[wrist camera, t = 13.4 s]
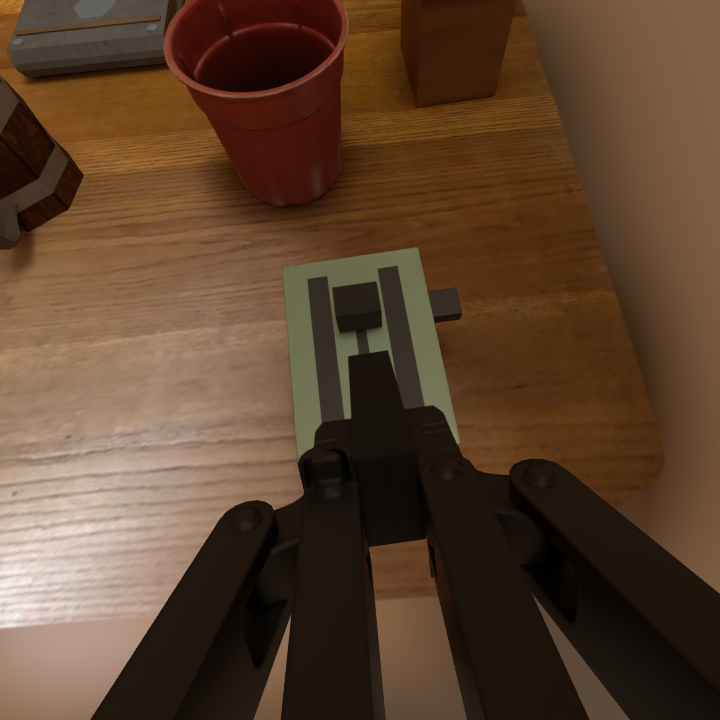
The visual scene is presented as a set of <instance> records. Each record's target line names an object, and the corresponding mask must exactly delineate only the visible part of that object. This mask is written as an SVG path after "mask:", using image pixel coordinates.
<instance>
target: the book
mask: <svg viewBox="0 0 720 720" xmlns="http://www.w3.org/2000/svg"><path fill="white" fill-rule="evenodd" d="M183 3H184V0H25V2H24V5H23V7H22V10H21V13H20V16H19V19H18V22H17V24H16V27H15V30H14V33H13V36H12V39H11V42H10V44H9V47H8V50H7V51H8V54H9V56H10V58H11V61H12V63H13V65H14V66H15V68H16V69H17V70H18V71H19V72H20V73H22V74H23V75H25V76H27V77H36V76H46V75H56V74H65V73H75V72H85V71H94V70H104V69H114V68H123V67H133V66H143V65H152V64H162V63H167V62H166V59H165V55H164V38H165V34H166V31H167V28H168V26H169V24H170V22H171V20H172V19H173V17H174V16H175V15H176V13H177V12H178V11H179V10H180V9H181V8H182V7H183Z"/></svg>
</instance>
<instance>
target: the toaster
mask: <svg viewBox="0 0 720 720" xmlns="http://www.w3.org/2000/svg"><path fill="white" fill-rule="evenodd" d="M282 269H283V281H284V294H285V307H286V320H287V333H288V345H289V358H290V371H291V384H292V397H293V410H294V422H295V435H296V448H297V461H299V459H300V457H301V456H302V455H303V454H304V453H305V452H306V451H307V450H309V449H311V448H313V447H314V438H315V432H316V430H317V429H318V428H319V426H320V425H321V424H322V423H323V422H330V421H336V420H343V419H350V418H351V404H350V386H349V368H348V356H352V355H359V354H365V353H372V352H379V351H386V350H388V352H389V356H390V359H391V363H392V366H393V370H394V373H395V377H396V380H397V384H398V388H399V391H400V395H401V398H402V402H403V405H404V409H410V408H417V407H424V406H431V405H434V406H435V407H436V408H438V409H439V410H441V411H442V412H443V413H444V415H445V417H446V420H447V423H448V424H449V427H450V429H451V431H452V433H453V436H454V438H455V440H456V442H457V445H458V447H459V445H460V444H461V442H460V438H459V433H458V429H457V424H456V419H455V415H454V410H453V406H452V401H451V396H450V392H449V387H448V383H447V378H446V374H445V369H444V364H443V360H442V355H441V351H440V346H439V341H438V337H437V332H436V328H435V323H438V322H445V321H452V320H459V319H460V318H461V314H462V310H461V306H460V302H459V298H458V294H457V290H456V288H451V289H444V290H437V291H430V292H428V291H427V287H426V282H425V277H424V273H423V268H422V264H421V259H420V254H419V250H418V247H416V248H409V249H402V250H396V251H389V252H382V253H375V254H369V255H362V256H355V257H348V258H341V259H335V260H328V261H321V262H314V263H308V264H301V265H294V266H287V267H283V268H282ZM373 281H376V282H377V286H378V292H379V298H380V304H381V310H382V327H377V328H370V329H364V330H357V331H350V332H343V333H339V329H338V325H337V321H336V317H335V309H334V301H333V293H332V288H333V287H339V286H346V285H353V284H360V283H367V282H373Z"/></svg>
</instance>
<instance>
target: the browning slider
mask: <svg viewBox="0 0 720 720" xmlns="http://www.w3.org/2000/svg"><path fill="white" fill-rule="evenodd" d="M332 293H333V301H334V309H335V317H336V321H337V325H338V329H339V333H343V332H350V331H357V330H364V329H370V328H377V327H382V310H381V304H380V298H379V292H378V286H377V282H376V281H373V282H367V283H360V284H353V285H346V286H339V287H333V288H332Z"/></svg>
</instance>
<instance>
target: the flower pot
mask: <svg viewBox="0 0 720 720" xmlns="http://www.w3.org/2000/svg"><path fill="white" fill-rule="evenodd" d="M348 30H349V20H348V15H347V11H346V8H345V6H344V4H343V3H342V1H341V0H190V1H188V2H187V3H186V4H185V5H184V6H183V7H182V8H181V9H180V10H179V11H178V12H177V13H176V15H175V16H174V17H173V19H172V20H171V22H170V24H169V26H168V28H167V31H166V34H165V38H164V55H165V59H166V62H167V64H168V66H169V68H170V69H171V71H172V72H173V73H174V75H175V76H176V77H177V78H178V79H179V80H180V81H181V82H182V83H183V84H185V85H186V86H187V88H188V90H189V92H190V93H191V95H192V97H193V99H194V101H195V102H196V104H197V105H198V106H199V108H200V109H201V110H202V111H203V112H204V113H205V114H206V116H207V117H208V119H209V121H210V123H211V125H212V127H213V128H214V130H215V132H216V134H217V136H218V138H219V139H220V141H221V143H222V145H223V147H224V148H225V150H226V152H227V154H228V156H229V158H230V160H231V161H232V163H233V165H234V167H235V169H236V171H237V173H238V174H239V176H240V178H241V180H242V182H243V184H244V186H245V187H246V189H247V190H248V191H249V192H250V193H251V194H252V195H253V196H254V197H256V198H257V199H259V200H260V201H262V202H265V203H267V204H270V205H274V206H281V207H284V206H286V205H288V204H297V203H298V204H306V203H309V202H311V201H313V200H315V199H317V198H319V197H320V196H322V195H323V194H324V193H326V192H327V191H328V190H329V189H330V188H331V187H332V186H333V184H334V183H335V182H336V180H337V178H338V176H339V173H340V169H341V99H340V81H341V78H342V74H343V49H344V47H345V44H346V41H347V37H348Z"/></svg>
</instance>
